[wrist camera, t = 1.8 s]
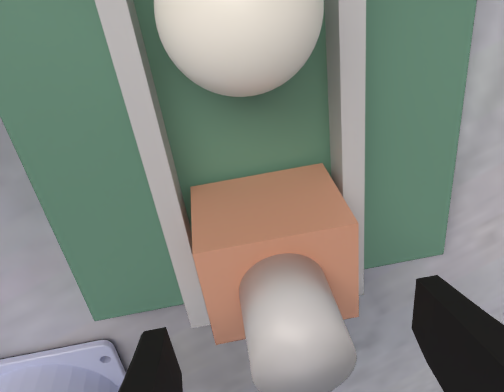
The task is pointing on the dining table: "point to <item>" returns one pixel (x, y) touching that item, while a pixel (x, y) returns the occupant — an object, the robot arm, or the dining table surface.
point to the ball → (239, 41)
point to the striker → (280, 274)
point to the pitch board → (226, 135)
